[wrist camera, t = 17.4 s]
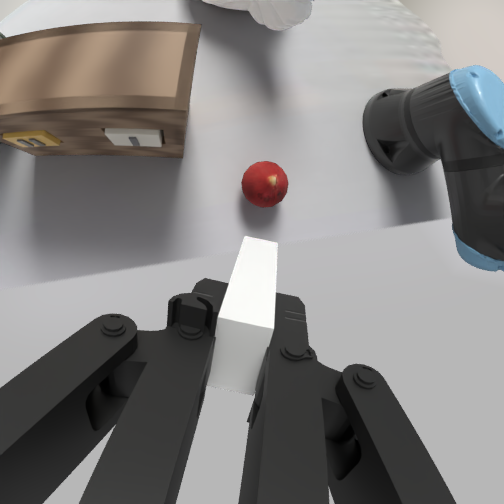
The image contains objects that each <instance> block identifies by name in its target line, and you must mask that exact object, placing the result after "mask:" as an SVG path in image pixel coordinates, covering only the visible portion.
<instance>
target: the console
mask: <svg viewBox="0 0 504 504" xmlns="http://www.w3.org/2000/svg"><path fill="white" fill-rule="evenodd" d="M201 25H202V24H191V23H177V22H108V23H93V24H82V25H73V26H65V27H58V28H52V29H46V30H40V31H34V32H29V33H25V34H20V35H16V36H11V37H7V38H3V39H0V142H2V143H5V144H7V145H10V146H12V147H15V148H17V149H20V150H22V151H25V152H27V153H30V154H32V155H35V156H45V155H127V156H152V157H171V158H183V151H184V142H185V134H186V126H187V118H188V110H189V103H190V95H191V88H192V81H193V74H194V67H195V60H196V54H197V48H198V42H199V36H200V30H201ZM105 128H125V129H155V130H163V132H164V135H163V138H162V146H161V147H149V146H120V145H114V144H113V143H112V142H111V140H110V139H109V138H108V137H107V136H106V135H105ZM37 130H45V131H47V132H49V133H50V134H52V135H53V136H55V137H56V138H58V139H60V140H61V141H60V146H38V147H21V146H19V145H16V144H14V143H12V142H9V141H7V140H5V139H2V138H3V133H13V132H24V131H37Z"/></svg>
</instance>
